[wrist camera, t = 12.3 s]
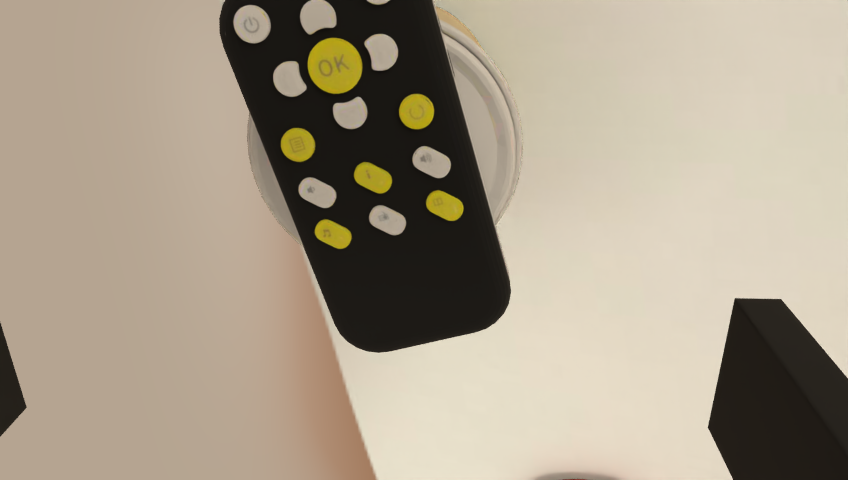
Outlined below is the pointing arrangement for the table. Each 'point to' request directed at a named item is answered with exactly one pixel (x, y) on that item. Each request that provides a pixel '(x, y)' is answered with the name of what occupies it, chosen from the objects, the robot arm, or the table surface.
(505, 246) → the table surface
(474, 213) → the remote control
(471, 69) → the coffee cup
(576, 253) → the table surface
